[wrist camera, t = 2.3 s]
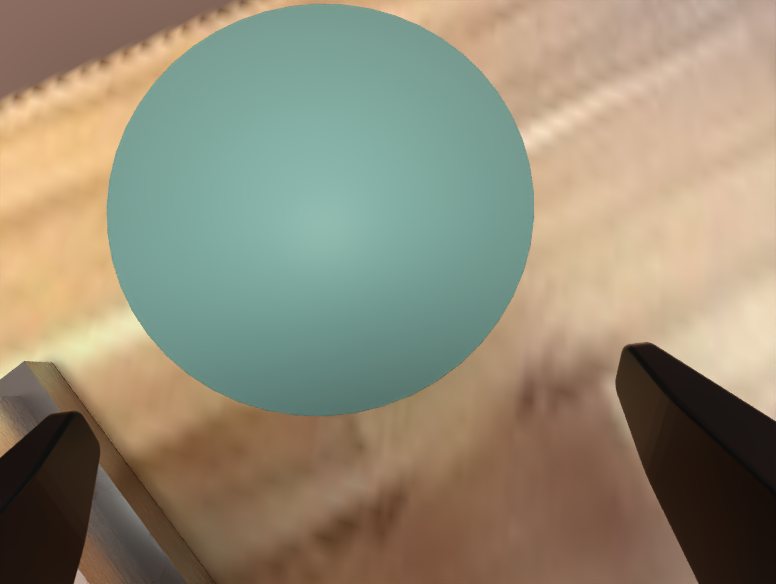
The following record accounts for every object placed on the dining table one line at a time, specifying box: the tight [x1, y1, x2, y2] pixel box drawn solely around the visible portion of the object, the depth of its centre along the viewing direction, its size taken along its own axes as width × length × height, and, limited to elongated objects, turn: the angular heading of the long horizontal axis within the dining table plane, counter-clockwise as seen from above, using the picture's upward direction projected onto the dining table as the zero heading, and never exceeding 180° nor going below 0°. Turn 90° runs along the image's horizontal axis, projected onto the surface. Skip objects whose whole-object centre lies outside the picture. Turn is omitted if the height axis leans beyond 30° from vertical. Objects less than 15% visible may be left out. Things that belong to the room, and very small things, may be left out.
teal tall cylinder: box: [107, 4, 534, 416], centre depth 13 cm, size 5×5×13 cm
